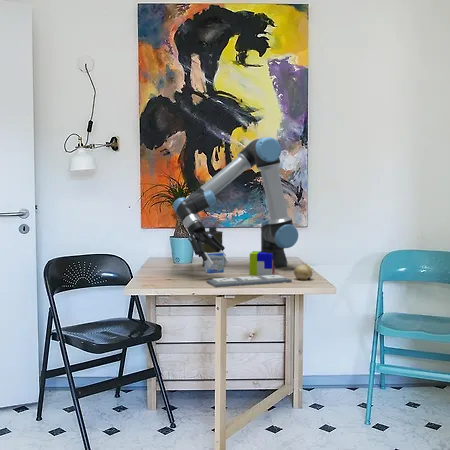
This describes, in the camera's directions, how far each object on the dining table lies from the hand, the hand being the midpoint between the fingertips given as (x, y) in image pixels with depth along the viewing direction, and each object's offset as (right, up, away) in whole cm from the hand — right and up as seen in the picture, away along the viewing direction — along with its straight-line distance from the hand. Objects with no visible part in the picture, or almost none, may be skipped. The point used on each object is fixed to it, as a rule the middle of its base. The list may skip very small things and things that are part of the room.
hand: (219, 264), depth 246 cm
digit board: (+13, -7, -7) cm, 16 cm away
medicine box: (-2, -4, +3) cm, 5 cm away
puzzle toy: (+20, -6, +16) cm, 26 cm away
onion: (+37, -7, 0) cm, 37 cm away
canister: (-4, -4, +43) cm, 44 cm away
